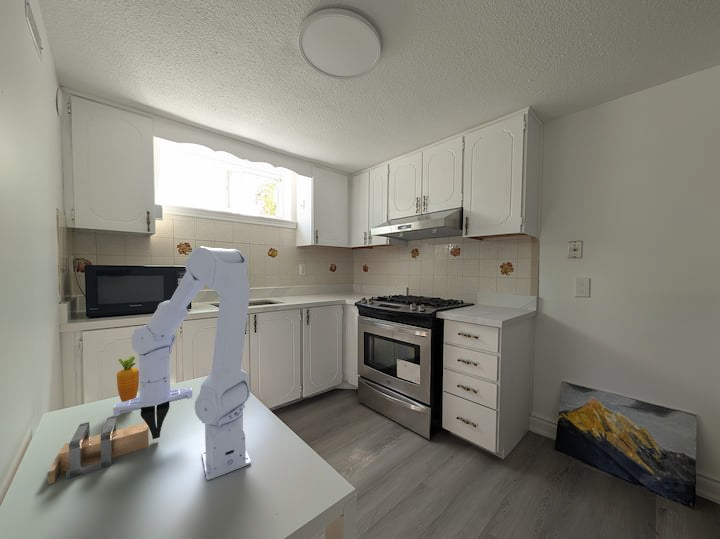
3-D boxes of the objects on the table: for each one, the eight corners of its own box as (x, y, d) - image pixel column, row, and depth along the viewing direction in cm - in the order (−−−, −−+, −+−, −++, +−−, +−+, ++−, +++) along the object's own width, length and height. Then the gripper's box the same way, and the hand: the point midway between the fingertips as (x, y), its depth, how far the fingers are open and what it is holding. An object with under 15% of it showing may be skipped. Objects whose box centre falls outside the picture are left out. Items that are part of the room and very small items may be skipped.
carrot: (112, 411, 79) (111, 358, 78) (131, 403, 84) (130, 352, 83) (125, 414, 77) (124, 359, 77) (144, 405, 82) (142, 354, 82)
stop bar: (54, 482, 53) (53, 470, 53) (48, 484, 53) (47, 472, 53) (67, 457, 60) (66, 446, 60) (61, 459, 60) (61, 448, 60)
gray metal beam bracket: (111, 465, 58) (110, 433, 58) (66, 479, 54) (65, 445, 54) (117, 443, 65) (116, 415, 65) (77, 454, 61) (76, 425, 61)
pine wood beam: (148, 447, 64) (148, 430, 64) (59, 474, 56) (59, 454, 56) (149, 438, 67) (149, 421, 67) (65, 462, 59) (65, 443, 59)
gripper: (190, 366, 72) (191, 418, 73) (116, 379, 64) (117, 438, 65) (192, 374, 67) (193, 431, 67) (111, 390, 58) (112, 455, 59)
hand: (156, 436), depth 65 cm, fingers closed
